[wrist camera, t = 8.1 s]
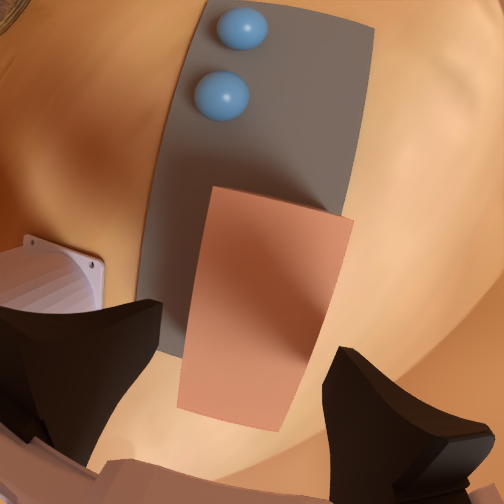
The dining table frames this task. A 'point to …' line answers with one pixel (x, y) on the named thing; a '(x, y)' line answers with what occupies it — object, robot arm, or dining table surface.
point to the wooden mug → (10, 12)
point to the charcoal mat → (253, 139)
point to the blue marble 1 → (242, 28)
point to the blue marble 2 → (221, 95)
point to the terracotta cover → (257, 305)
